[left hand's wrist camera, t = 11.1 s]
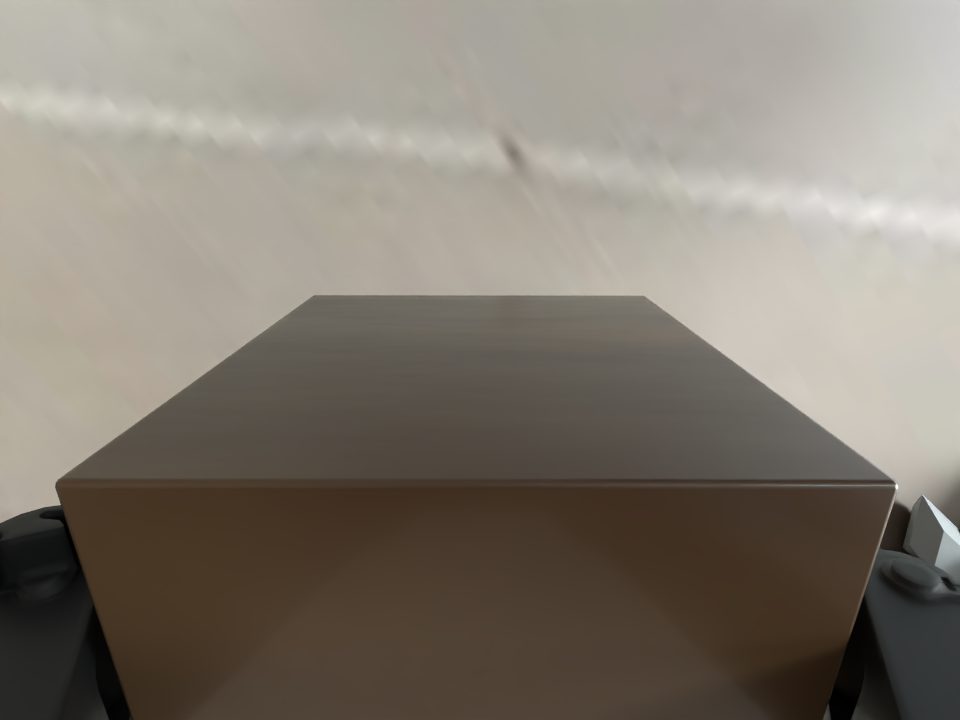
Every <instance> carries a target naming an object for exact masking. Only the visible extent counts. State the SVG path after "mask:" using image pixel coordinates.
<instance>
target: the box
mask: <svg viewBox="0 0 960 720" xmlns="http://www.w3.org/2000/svg"><path fill="white" fill-rule="evenodd" d="M55 488H56V491H57V494H58V497H59V500H60V503H61V506H62V509H63V512H64V515H65V518H66V521H67V524H68V527H69V530H70V533H71V537H72V540H73V543H74V546H75V549H76V552H77V555H78V558H79V561H80V564H81V567H82V570H83V573H84V576H85V579H86V582H87V585H88V588H89V591H90V594H91V597H92V600H93V604H94V607H95V610H96V613H97V616H98V619H99V622H100V625H101V628H102V631H103V634H104V637H105V640H106V643H107V646H108V649H109V652H110V655H111V658H112V661H113V664H114V667H115V671H116V674H117V677H118V680H119V683H120V686H121V689H122V692H123V695H124V698H125V701H126V704H127V707H128V710H129V713H130V716H131V719H132V720H823V718H824V715H825V712H826V709H827V706H828V703H829V700H830V697H831V693H832V690H833V687H834V684H835V681H836V678H837V675H838V672H839V669H840V666H841V663H842V660H843V657H844V654H845V651H846V647H847V644H848V641H849V638H850V635H851V632H852V629H853V626H854V623H855V620H856V617H857V614H858V611H859V608H860V605H861V601H862V598H863V595H864V592H865V589H866V586H867V583H868V580H869V577H870V574H871V571H872V568H873V565H874V562H875V559H876V555H877V552H878V549H879V546H880V543H881V540H882V537H883V534H884V531H885V528H886V525H887V522H888V519H889V516H890V513H891V509H892V506H893V503H894V500H895V497H896V494H897V491H898V484H897V482H896V481H895V480H894V479H893V478H891V477H890V476H889V475H887V474H886V473H884V472H883V471H882V470H880V469H879V468H878V467H876V466H875V465H874V464H872V463H871V462H869V461H868V460H867V459H865V458H864V457H863V456H861V455H860V454H859V453H857V452H856V451H854V450H853V449H852V448H850V447H849V446H848V445H846V444H845V443H844V442H842V441H841V440H840V439H838V438H837V437H835V436H834V435H833V434H831V433H830V432H829V431H827V430H826V429H825V428H823V427H822V426H820V425H819V424H818V423H816V422H815V421H814V420H812V419H811V418H810V417H808V416H807V415H805V414H804V413H803V412H801V411H800V410H799V409H797V408H796V407H795V406H793V405H792V404H791V403H789V402H788V401H786V400H785V399H784V398H782V397H781V396H780V395H778V394H777V393H776V392H774V391H773V390H771V389H770V388H769V387H767V386H766V385H765V384H763V383H762V382H761V381H759V380H758V379H757V378H755V377H754V376H752V375H751V374H750V373H748V372H747V371H746V370H744V369H743V368H742V367H740V366H739V365H737V364H736V363H735V362H733V361H732V360H731V359H729V358H728V357H727V356H725V355H724V354H722V353H721V352H720V351H718V350H717V349H716V348H714V347H713V346H712V345H710V344H709V343H708V342H706V341H705V340H703V339H702V338H701V337H699V336H698V335H697V334H695V333H694V332H693V331H691V330H690V329H688V328H687V327H686V326H684V325H683V324H682V323H680V322H679V321H678V320H676V319H675V318H674V317H672V316H671V315H669V314H668V313H667V312H665V311H664V310H663V309H661V308H660V307H659V306H657V305H656V304H654V303H653V302H652V301H650V300H649V299H648V298H646V297H645V296H313V297H311V298H310V299H308V300H307V301H306V302H304V303H303V304H301V305H300V306H299V307H297V308H296V309H294V310H293V311H292V312H290V313H289V314H288V315H286V316H285V317H283V318H282V319H281V320H279V321H278V322H276V323H275V324H274V325H272V326H271V327H269V328H268V329H267V330H265V331H264V332H263V333H261V334H260V335H258V336H257V337H256V338H254V339H253V340H251V341H250V342H249V343H247V344H246V345H244V346H243V347H242V348H240V349H239V350H238V351H236V352H235V353H233V354H232V355H231V356H229V357H228V358H226V359H225V360H224V361H222V362H221V363H219V364H218V365H217V366H215V367H214V368H213V369H211V370H210V371H208V372H207V373H206V374H204V375H203V376H201V377H200V378H199V379H197V380H196V381H194V382H193V383H192V384H190V385H189V386H188V387H186V388H185V389H183V390H182V391H181V392H179V393H178V394H176V395H175V396H174V397H172V398H171V399H169V400H168V401H167V402H165V403H164V404H162V405H161V406H160V407H158V408H157V409H156V410H154V411H153V412H151V413H150V414H149V415H147V416H146V417H144V418H143V419H142V420H140V421H139V422H137V423H136V424H135V425H133V426H132V427H131V428H129V429H128V430H126V431H125V432H124V433H122V434H121V435H119V436H118V437H117V438H115V439H114V440H112V441H111V442H110V443H108V444H107V445H106V446H104V447H103V448H101V449H100V450H99V451H97V452H96V453H94V454H93V455H92V456H90V457H89V458H87V459H86V460H85V461H83V462H82V463H81V464H79V465H78V466H76V467H75V468H74V469H72V470H71V471H69V472H68V473H67V474H65V475H64V476H62V477H61V478H60V479H58V481H57V482H56V486H55Z"/></svg>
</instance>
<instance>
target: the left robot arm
mask: <svg viewBox="0 0 960 720" xmlns="http://www.w3.org/2000/svg"><path fill="white" fill-rule="evenodd" d="M0 720H132V719H131V716H130V713H129V710H128V707H127V704H126V701H125V698H124V695H123V692H122V689H121V686H120V683H119V680H118V677H117V674H116V671H115V667H114V664H113V661H112V658H111V655H110V652H109V649H108V646H107V643H106V640H105V637H104V634H103V631H102V628H101V625H100V622H99V619H98V616H97V613H96V610H95V607H94V604H93V600H92V597H91V594H90V591H89V588H88V585H87V582H86V579H85V576H84V573H83V570H82V567H81V564H80V561H79V558H78V555H77V552H76V549H75V546H74V543H73V540H72V537H71V533H70V530H69V527H68V524H67V521H66V518H65V515H64V512H63V509H62V506H61V505H59V506H52V507H44V508H41V509H37V510H34V511H30V512H27V513H23V514H20V515H18V516H16V517H14V518H11V519H9V520H7V521H4V522H2V523H0ZM823 720H960V582H959V581H957V580H956V579H955V578H953V577H952V576H951V575H949V574H948V573H946V572H945V571H944V570H942V569H940V568H938V567H936V566H934V565H932V564H930V563H928V562H926V561H924V560H922V559H920V558H917V557H914V556H910V555H907V554H904V553H901V552H896V551H890V550H883V549H882V548H880V547H879V549H878V552H877V555H876V559H875V562H874V565H873V568H872V571H871V574H870V577H869V580H868V583H867V586H866V589H865V592H864V595H863V598H862V601H861V605H860V608H859V611H858V614H857V617H856V620H855V623H854V626H853V629H852V632H851V635H850V638H849V641H848V644H847V647H846V651H845V654H844V657H843V660H842V663H841V666H840V669H839V672H838V675H837V678H836V681H835V684H834V687H833V690H832V693H831V697H830V700H829V703H828V706H827V709H826V712H825V715H824V718H823Z"/></svg>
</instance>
